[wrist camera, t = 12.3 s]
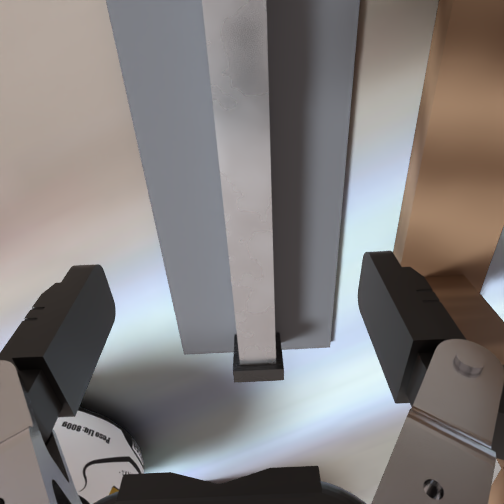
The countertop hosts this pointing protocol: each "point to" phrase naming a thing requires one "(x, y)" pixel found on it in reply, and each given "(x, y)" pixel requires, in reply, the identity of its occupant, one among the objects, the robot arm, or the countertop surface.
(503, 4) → the walnut rack
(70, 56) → the countertop surface
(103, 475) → the milk container
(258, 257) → the steel rail
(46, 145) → the countertop surface
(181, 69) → the grey long flat board
